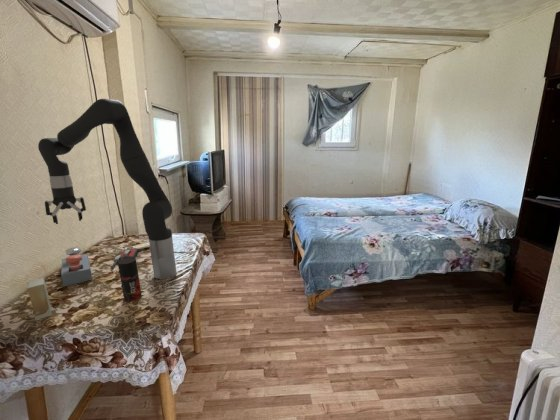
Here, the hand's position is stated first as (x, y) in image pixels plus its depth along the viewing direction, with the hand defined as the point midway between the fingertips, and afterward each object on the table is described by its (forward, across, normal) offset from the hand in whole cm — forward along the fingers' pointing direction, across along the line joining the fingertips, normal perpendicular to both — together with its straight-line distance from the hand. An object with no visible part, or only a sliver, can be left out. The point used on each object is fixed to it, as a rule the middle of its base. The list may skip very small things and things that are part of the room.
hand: (68, 222), depth 130 cm
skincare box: (+23, -10, -36) cm, 44 cm away
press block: (+23, 0, -6) cm, 23 cm away
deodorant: (+22, +17, -43) cm, 51 cm away
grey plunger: (+19, 0, -1) cm, 19 cm away
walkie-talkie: (+23, +20, -3) cm, 30 cm away
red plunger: (+19, 0, -12) cm, 22 cm away
